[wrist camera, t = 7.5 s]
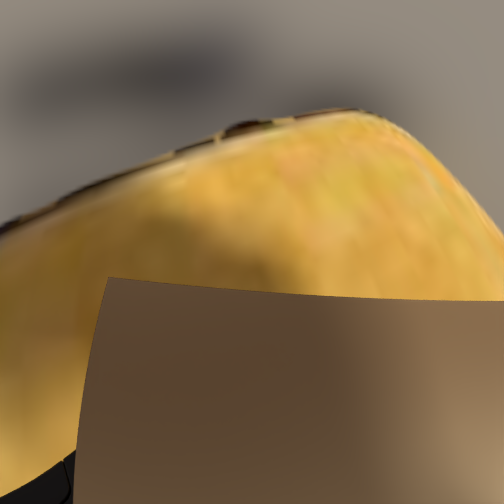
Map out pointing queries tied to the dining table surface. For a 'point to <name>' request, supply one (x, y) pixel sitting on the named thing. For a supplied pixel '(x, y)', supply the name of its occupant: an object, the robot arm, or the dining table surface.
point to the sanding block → (290, 399)
